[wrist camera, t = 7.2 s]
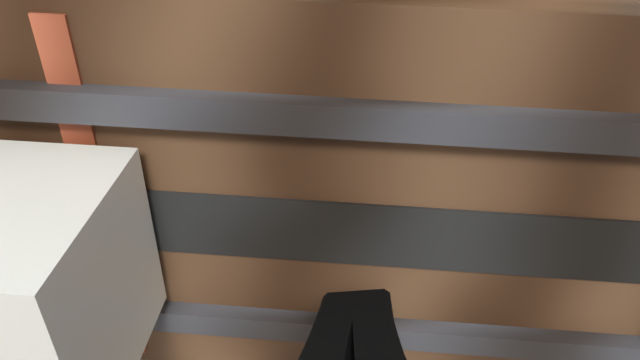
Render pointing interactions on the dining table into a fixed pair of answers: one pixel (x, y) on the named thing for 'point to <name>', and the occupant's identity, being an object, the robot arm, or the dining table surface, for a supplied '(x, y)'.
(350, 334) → the robot arm
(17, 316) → the fader knob
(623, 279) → the console
